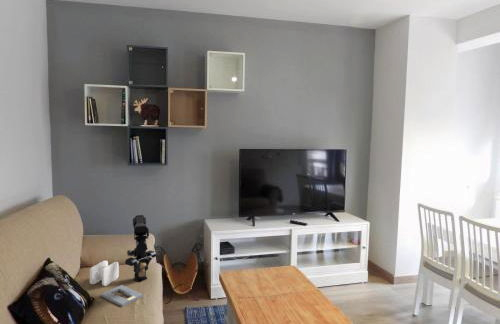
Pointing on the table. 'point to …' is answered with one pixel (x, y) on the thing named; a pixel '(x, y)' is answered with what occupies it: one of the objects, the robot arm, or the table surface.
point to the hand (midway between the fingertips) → (141, 271)
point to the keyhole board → (118, 299)
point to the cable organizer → (104, 273)
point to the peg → (142, 269)
